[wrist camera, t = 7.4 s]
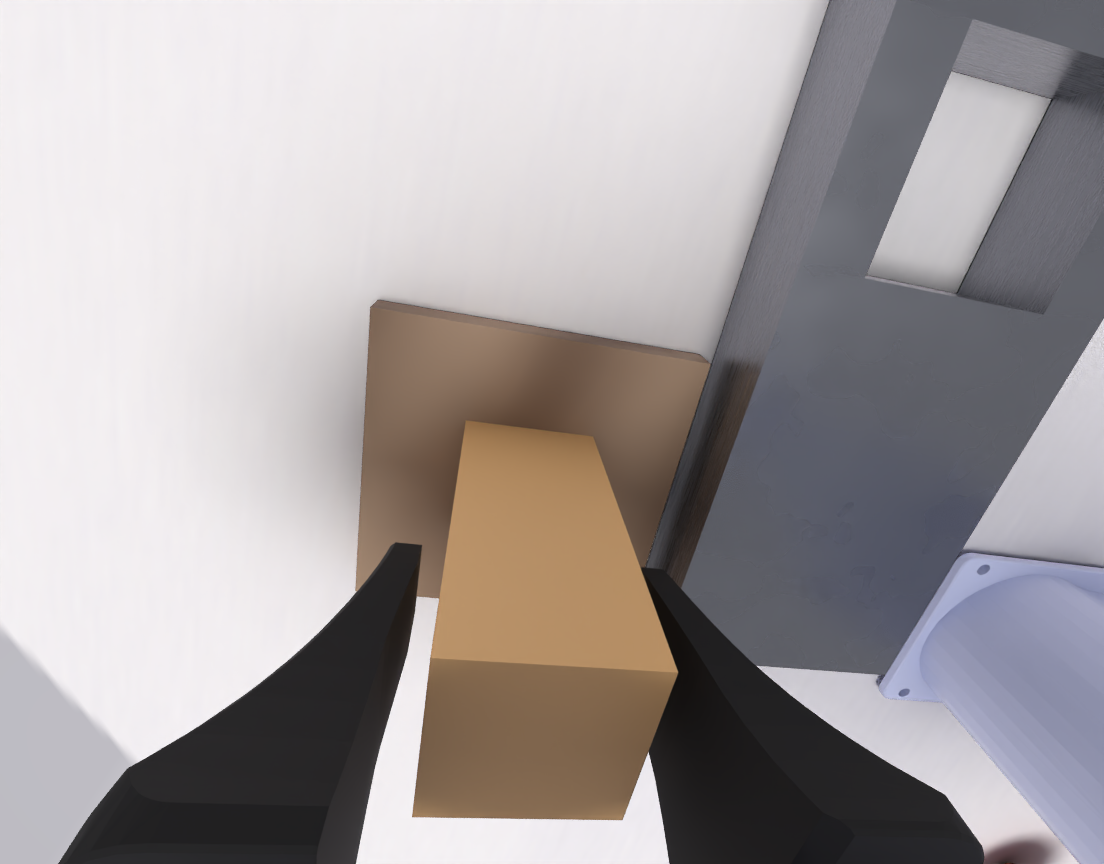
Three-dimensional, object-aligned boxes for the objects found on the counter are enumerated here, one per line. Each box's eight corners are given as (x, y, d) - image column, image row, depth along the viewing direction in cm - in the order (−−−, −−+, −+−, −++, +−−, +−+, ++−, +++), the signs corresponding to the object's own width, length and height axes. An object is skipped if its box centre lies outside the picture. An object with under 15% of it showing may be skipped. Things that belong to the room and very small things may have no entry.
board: (699, 354, 17) (710, 364, 16) (623, 596, 21) (629, 614, 20) (377, 299, 16) (370, 307, 15) (362, 572, 20) (355, 591, 19)
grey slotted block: (1183, -32, 14) (1350, -85, 11) (838, 615, 23) (884, 675, 20) (875, -137, 12) (980, -227, 10) (635, 597, 21) (655, 658, 18)
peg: (593, 436, 17) (677, 672, 9) (569, 539, 18) (622, 820, 10) (465, 420, 16) (430, 658, 8) (452, 528, 18) (411, 817, 10)
